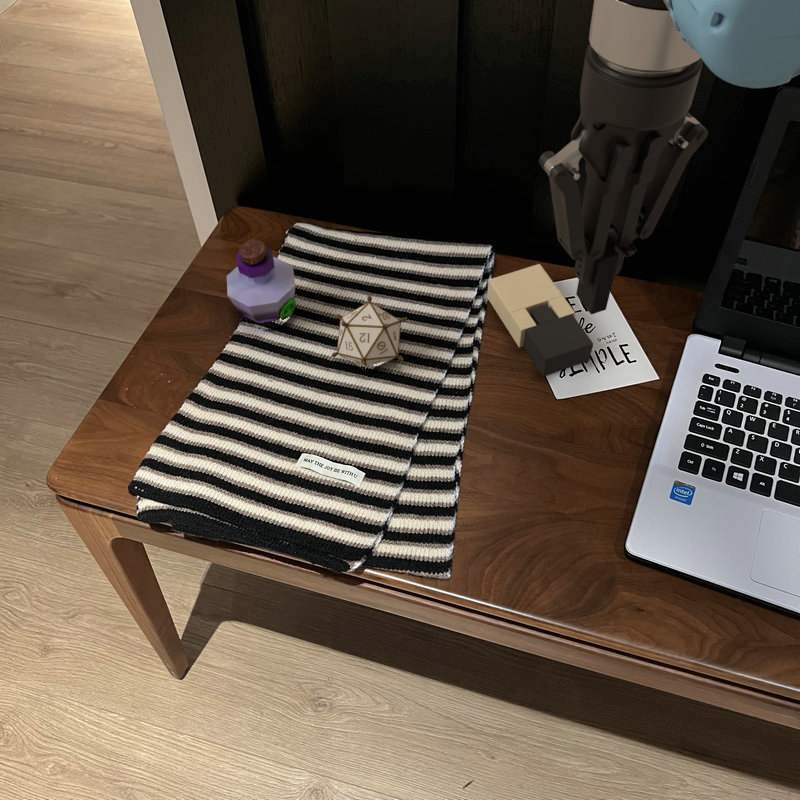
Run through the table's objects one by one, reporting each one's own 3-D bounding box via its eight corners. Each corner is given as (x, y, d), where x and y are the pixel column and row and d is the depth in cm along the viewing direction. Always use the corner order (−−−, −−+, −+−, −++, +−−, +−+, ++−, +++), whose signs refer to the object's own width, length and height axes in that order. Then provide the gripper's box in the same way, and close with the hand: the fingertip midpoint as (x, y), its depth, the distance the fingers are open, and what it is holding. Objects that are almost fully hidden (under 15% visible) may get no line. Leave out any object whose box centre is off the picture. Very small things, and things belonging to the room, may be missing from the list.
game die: (369, 366, 97) (370, 286, 94) (420, 379, 92) (423, 294, 89) (315, 378, 91) (315, 293, 88) (367, 393, 85) (368, 302, 82)
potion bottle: (293, 350, 94) (276, 279, 85) (226, 340, 96) (202, 269, 86) (313, 299, 99) (299, 227, 90) (249, 291, 101) (229, 218, 91)
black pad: (588, 365, 91) (593, 343, 88) (542, 381, 90) (545, 359, 87) (557, 322, 95) (561, 299, 92) (513, 336, 94) (515, 314, 91)
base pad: (570, 335, 94) (575, 312, 91) (518, 352, 93) (521, 330, 89) (536, 286, 99) (539, 263, 96) (486, 302, 98) (488, 279, 94)
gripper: (698, 0, 54) (632, 255, 73) (529, 43, 52) (506, 295, 70) (766, 52, 50) (677, 308, 68) (585, 101, 47) (545, 353, 66)
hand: (590, 301), depth 69 cm, fingers closed
